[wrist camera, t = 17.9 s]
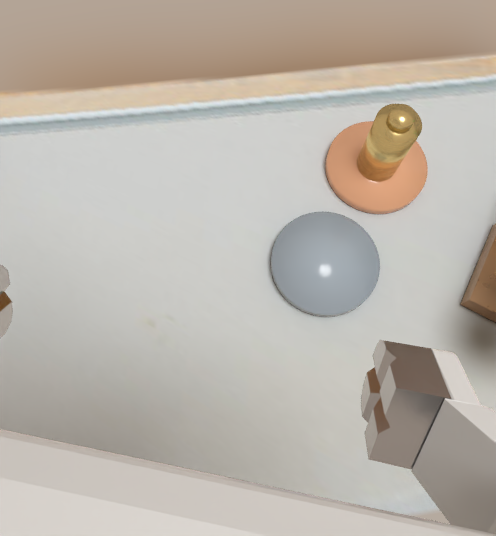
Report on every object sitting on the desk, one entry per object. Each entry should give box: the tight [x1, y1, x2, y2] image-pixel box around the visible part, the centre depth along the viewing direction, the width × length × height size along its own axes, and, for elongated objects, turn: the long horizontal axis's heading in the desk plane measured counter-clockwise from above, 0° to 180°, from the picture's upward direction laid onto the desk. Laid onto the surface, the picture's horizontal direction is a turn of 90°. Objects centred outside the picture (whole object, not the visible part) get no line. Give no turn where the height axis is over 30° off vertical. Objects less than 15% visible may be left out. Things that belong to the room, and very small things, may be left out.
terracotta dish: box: [325, 121, 427, 214], centre depth 50 cm, size 11×11×1 cm
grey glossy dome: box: [271, 212, 380, 317], centre depth 46 cm, size 11×11×1 cm
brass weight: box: [357, 104, 422, 182], centre depth 45 cm, size 4×4×8 cm
